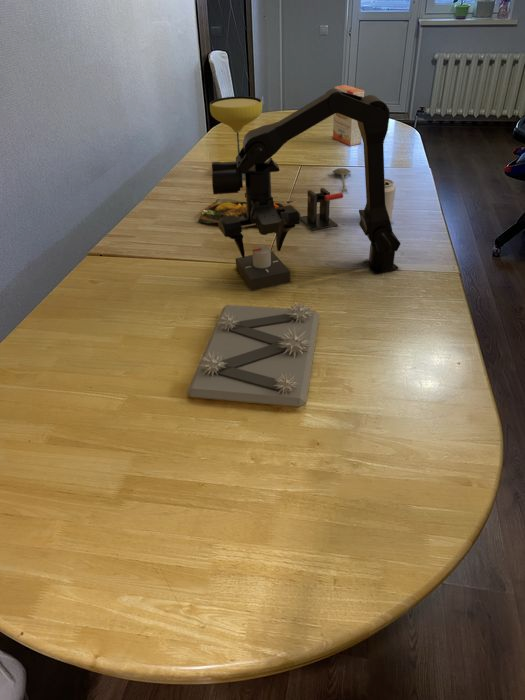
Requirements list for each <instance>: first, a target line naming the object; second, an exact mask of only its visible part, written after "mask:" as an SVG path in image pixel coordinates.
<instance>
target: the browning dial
mask: <svg viewBox="0 0 525 700" xmlns="http://www.w3.org/2000/svg"><path fill="white" fill-rule="evenodd" d="M271 251H272V250H271V247H269V246H267V245H257V246H255V247H253V248H252V255H253V266H254V267H256V268H261V269H262V268H267V267H269V266H270V265H271Z"/></svg>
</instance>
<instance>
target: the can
mask: <svg viewBox="0 0 525 700" xmlns="http://www.w3.org/2000/svg"><path fill="white" fill-rule="evenodd" d="M384 180H385V205H386V209H387V212H388V215H389V218H390V222H392V220H393V213H394V203H395V196H396V186H395V185H394V184H395V183H394V180H392V179H390V178H384Z"/></svg>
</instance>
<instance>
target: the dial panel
mask: <svg viewBox="0 0 525 700" xmlns="http://www.w3.org/2000/svg"><path fill="white" fill-rule="evenodd" d="M235 268H236V271H237V272H238V273H239V275H240V276H241V277H242V279H243V281H244V282H245V283H246V285H247V286H248V288H249V289H250V291H256V290H260V289H264V288H270V287H273V286H278V285H283V284H288V283H290V282H291V271H290V269H289V268H288V267H287V266H286V265H285V264H284V263H283V262H282V261H281V259H280V258H279V257H278V255H276V253H274V251H273V250H271V265H270V266H269V267H267V268H262V269H261V268H256V267H254V266H253V254H250V255H245V258H243V257H242V256H240V257H236V258H235Z"/></svg>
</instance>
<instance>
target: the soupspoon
mask: <svg viewBox="0 0 525 700" xmlns="http://www.w3.org/2000/svg"><path fill="white" fill-rule="evenodd" d="M351 172H352V171H351V170H349V169H348V168H345V167H339V168H335V169H334V170H333V171H332V173H334V174H337V175H339V176H340V177H341V181H342V189H341V193H347V192H348V189H347V188H346V187H347V185H346V179H345V176H347V175H349V174H350V173H351Z"/></svg>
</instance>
